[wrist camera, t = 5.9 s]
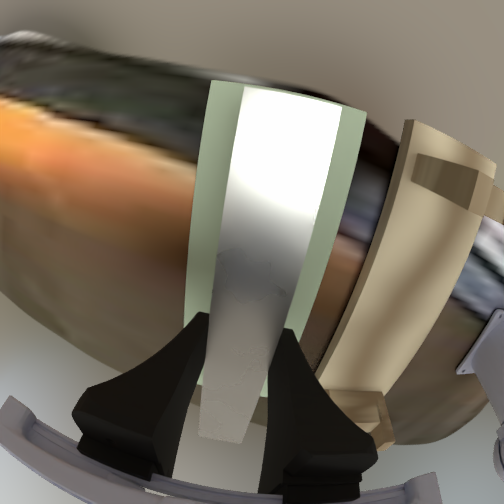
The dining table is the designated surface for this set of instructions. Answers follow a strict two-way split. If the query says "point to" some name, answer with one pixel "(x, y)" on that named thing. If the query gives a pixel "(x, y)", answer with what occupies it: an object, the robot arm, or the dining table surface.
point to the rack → (408, 271)
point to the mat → (213, 197)
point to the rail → (261, 247)
